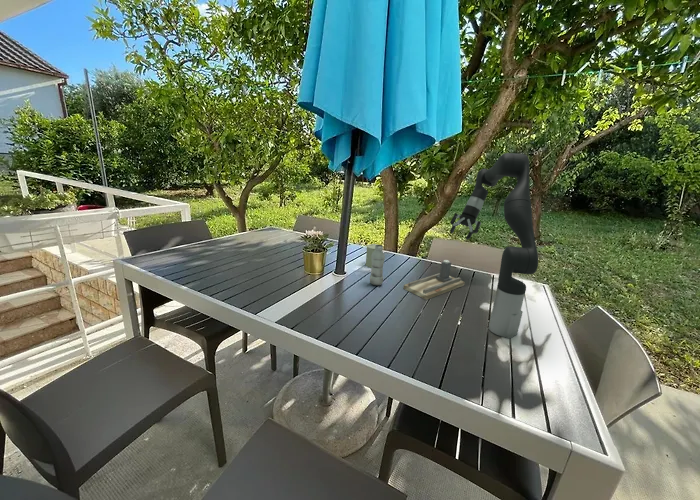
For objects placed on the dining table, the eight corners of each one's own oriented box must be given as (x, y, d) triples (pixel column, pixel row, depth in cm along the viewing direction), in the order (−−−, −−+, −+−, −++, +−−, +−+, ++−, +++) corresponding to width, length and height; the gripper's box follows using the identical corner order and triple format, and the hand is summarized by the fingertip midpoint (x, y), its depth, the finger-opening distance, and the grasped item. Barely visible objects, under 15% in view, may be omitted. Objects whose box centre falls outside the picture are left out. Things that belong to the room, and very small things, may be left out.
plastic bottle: (382, 287, 152) (385, 248, 145) (368, 285, 153) (371, 246, 147) (383, 282, 158) (386, 244, 151) (370, 280, 159) (373, 243, 153)
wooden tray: (464, 285, 159) (465, 279, 158) (426, 299, 141) (427, 292, 140) (441, 276, 170) (442, 270, 168) (403, 288, 152) (404, 281, 151)
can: (373, 261, 187) (374, 242, 183) (384, 266, 180) (386, 246, 177) (362, 264, 181) (363, 244, 178) (373, 269, 175) (374, 248, 171)
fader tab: (451, 280, 158) (454, 261, 155) (445, 283, 155) (448, 263, 152) (441, 276, 163) (444, 258, 159) (435, 278, 160) (438, 259, 157)
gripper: (458, 200, 160) (444, 229, 161) (485, 209, 152) (470, 239, 153) (461, 205, 166) (448, 233, 167) (488, 213, 158) (473, 242, 159)
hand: (459, 236), depth 160 cm, fingers open, 8 cm apart
